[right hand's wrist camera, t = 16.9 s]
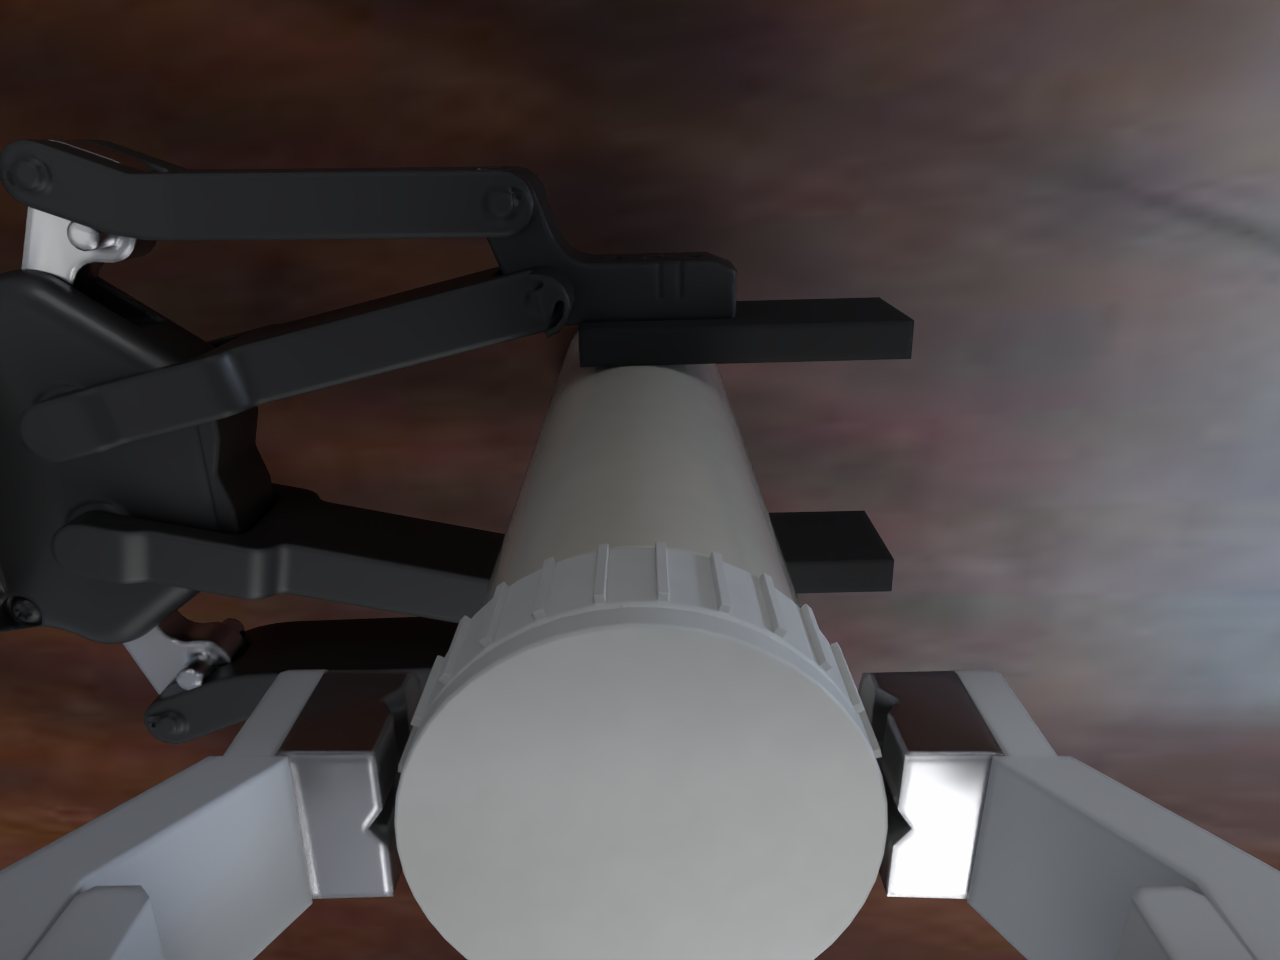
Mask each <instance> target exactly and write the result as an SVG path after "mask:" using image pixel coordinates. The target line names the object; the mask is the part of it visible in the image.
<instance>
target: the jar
mask: <svg viewBox="0 0 1280 960" xmlns="http://www.w3.org/2000/svg"><path fill="white" fill-rule="evenodd" d="M656 542H665V543H666V549H670V550H678V551H685V552H691V553H695V554H698V555H702V556H706V557H710V555H711V553H712V551H713V552H717V553H720V554H722V559H723V562H725V563H728V564H730V565H733V566H735V567H738V568H740V569H743V570H745V571H747V572H749V573H751V574H753V575H754V576H756V577H758V578H759V577H760V576H761V575H762V574H763V573H765V574H767V575H769V576H770V577H771V578H772V581H773V584H774V587H775V588H776V589H777V590H779V591H780V592H781V593H783V594H784V595H785V596H787V597H788V598H789V599H791V600H792V601H793V602H794V603H795V604H796V605H797V606H798V607H799V608H801V606H800V603H799V600H798V597H797V594H796V591H795V588H794V585H793V583H792V580H791V577H790V574H789V571H788V568H787V565H786V562H785V559H784V556H783V554H782V551H781V548H780V545H779V542H778V539H777V536H776V533H775V530H774V528H773V525H772V522H771V519H770V516H769V513H768V510H767V507H766V504H765V502H764V499H763V496H762V493H761V490H760V487H759V484H758V481H757V478H756V475H755V473H754V470H753V467H752V464H751V461H750V458H749V455H748V452H747V449H746V447H745V444H744V441H743V438H742V435H741V432H740V429H739V426H738V423H737V420H736V418H735V415H734V412H733V409H732V406H731V403H730V400H729V397H728V394H727V392H726V389H725V386H724V383H723V380H722V377H721V374H720V371H719V368H718V365H717V364H685V365H646V366H607V367H580V359H579V340H578V332H577V333H576V335H575V336H574V338H573V339H572V341H571V343H570V345H569V347H568V350H567V353H566V356H565V359H564V362H563V365H562V368H561V371H560V374H559V376H558V379H557V382H556V385H555V388H554V391H553V394H552V397H551V400H550V403H549V406H548V409H547V412H546V415H545V418H544V421H543V424H542V427H541V430H540V433H539V436H538V439H537V442H536V445H535V447H534V450H533V453H532V456H531V459H530V462H529V465H528V468H527V471H526V474H525V477H524V480H523V483H522V486H521V489H520V492H519V495H518V498H517V501H516V504H515V507H514V510H513V513H512V515H511V518H510V521H509V524H508V527H507V530H506V533H505V536H504V539H503V542H502V545H501V548H500V551H499V554H498V557H497V560H496V563H495V566H494V569H493V572H492V575H491V578H490V581H489V584H488V586H487V589H486V592H485V595H484V598H483V601H482V604H481V607H480V609H481V608H483V607H484V606H485V605H486V604H487V603H488V602H489V601H490V600H491V599H493V597H494V593H495V590H496V587H497V586H498V585H499V584H501V583H502V582H505V583H506V584H507V585H508V586H511V585H512V584H514V583H515V582H516V581H518V580H520V579H522V578H524V577H526V576H528V575H530V574H532V573H534V572H536V571H538V570H540V569H542V567H543V563H544V560H546V559H548V558H551V557H553V558H554V560H555V562H556V563H557V562H560V561H563V560H566V559H568V558H571V557H575V556H579V555H584V554H588V553H593V552H597V551H598V545H600V544H607V543H608V544H609V550H612V549H622V548H655V543H656Z"/></svg>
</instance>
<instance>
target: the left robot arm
mask: <svg viewBox="0 0 1280 960" xmlns="http://www.w3.org/2000/svg"><path fill="white" fill-rule="evenodd" d="M0 179H1V181H2V183H3V185H4V187H5V189H6V190H7V191H8V192H9V194H10V195H11V196H12V197H13V198H14V199H15V200H17V201H18V202H20V203H22V204H24V205H26V206H28V212H27V222H26V232H25V242H24V251H23V261H22V270H13V271H9V272H6V273H4V274H1V275H0V632H5V631H11V630H17V629H23V628H30V627H38V626H47V627H53V628H58V629H62V630H66V631H69V632H72V633H75V634H77V635H79V636H82V637H84V638H86V639H89V640H91V641H95V642H99V643H105V644H121V643H123V645H124V646H125V647H126V649H127V650H128V652H129V653H130V654H131V656H132V657H133V659H134V660H135V661H136V663H137V664H138V666H139V667H140V668H141V670H142V671H143V673H144V674H145V676H146V677H147V678H148V680H149V681H150V683H151V684H152V685H153V687H154V688H155V690H156V691H157V692H158V694H159V696H158V697H157V698H156V699H155V700H154V702H153V703H152V704H151V705H150V706H149V707H148V709H147V711H146V713H145V725H146V727H147V729H148V731H149V732H150V733H151V734H152V735H153V736H154V737H155V738H157V739H159V740H161V741H163V742H165V743H171V744H179V743H185V742H187V741H190V740H193V739H196V738H198V737H201V736H204V735H206V734H209V733H212V732H215V731H217V730H220V729H223V728H225V727H228V726H231V725H233V724H236V723H239V722H242V721H244V720H248V718H249V717H250V715H251V714H252V712H253V711H254V709H255V708H256V707H257V705H258V704H259V702H260V701H261V699H262V698H263V696H264V695H265V693H266V692H267V690H268V689H269V688H270V686H271V685H272V683H273V682H274V680H275V679H276V677H277V676H278V675H279V674H280V673H281V672H284V671H287V670H323V669H326V670H328V671H330V670H360V671H409V672H415V673H416V674H417V676H418V677H419V679H420V686H421V693H423V690H424V688H425V685H426V682H427V680H428V677H429V675H430V672H431V670H432V667H433V664H434V662H435V660H436V658H437V656H438V655H439V656H442V657H444V658H445V656H446V654H447V652H448V651H449V649H450V646H451V643H452V640H453V638H454V635H455V632H456V630H457V627H458V624H459V622H460V620H461V619H462V618H463V617H464V616H465V615H466V616H467V617H469V618H470V619H472V617H473V616H474V615H475V614H476V613H477V612H478V611H479V610H480V607H481V604H482V601H483V598H484V595H485V592H486V589H487V586H488V584H489V581H490V578H491V575H492V572H493V569H494V566H495V563H496V560H497V557H498V554H499V551H500V548H501V545H502V542H503V539H504V536H505V534H501V533H495V532H489V531H484V530H478V529H473V528H467V527H462V526H456V525H451V524H445V523H440V522H434V521H429V520H423V519H418V518H412V517H407V516H401V515H396V514H390V513H385V512H379V511H373V510H368V509H362V508H357V507H351V506H346V505H340V504H335V503H329V502H325V501H323V500H321V499H320V498H319V496H318V495H317V494H316V493H314V492H313V491H310V490H306V489H302V488H296V487H291V486H285V485H280V484H274V483H271V478H270V474H269V472H268V470H267V468H266V466H265V464H264V462H263V460H262V458H261V455H260V453H259V451H258V449H257V447H256V444H255V439H256V428H257V417H258V408H257V406H258V405H260V404H264V403H267V402H271V401H275V400H279V399H283V398H287V397H291V396H295V395H299V394H303V393H307V392H310V391H314V390H318V389H322V388H326V387H330V386H334V385H338V384H342V383H346V382H349V381H353V380H357V379H361V378H365V377H369V376H373V375H377V374H381V373H385V372H389V371H392V370H396V369H400V368H404V367H408V366H412V365H416V364H420V363H424V362H428V361H431V360H435V359H439V358H443V357H447V356H451V355H455V354H459V353H463V352H467V351H471V350H474V349H478V348H482V347H486V346H490V345H494V344H498V343H502V342H506V341H510V340H514V339H517V338H521V337H525V336H529V335H533V334H537V333H541V332H545V331H546V336H547V338H548V337H550V336H552V335H554V334H556V333H558V332H559V331H560V330H561V329H562V328H563V326H564V325H579V328H578V340H579V359H580V367H607V366H646V365H685V364H724V363H763V362H802V361H841V360H880V359H911V352H912V340H913V328H914V320H913V319H911V318H909V317H908V316H906V315H905V314H903V313H902V312H900V311H899V310H897V309H896V308H894V307H893V306H891V305H890V304H888V303H887V302H885V301H884V300H882V299H881V298H879V297H878V298H840V299H802V300H764V301H736V269H735V267H734V266H733V265H732V263H731V262H730V261H728V260H726V259H723V258H721V257H718V256H715V255H713V254H710V253H707V252H687V253H660V254H658V253H650V254H612V255H592V254H585V253H583V252H580V251H578V250H576V249H575V248H573V247H572V246H570V245H569V244H568V243H567V242H566V240H565V239H564V238H563V236H562V235H561V233H560V231H559V229H558V226H557V224H556V221H555V219H554V217H553V214H552V212H551V209H550V207H549V205H548V202H547V200H546V194H545V190H544V186H543V184H542V182H541V181H540V179H539V178H538V176H537V175H536V174H534V173H533V172H531V171H530V170H528V169H526V168H521V167H424V168H330V169H236V170H188V169H185V168H182V167H179V166H176V165H173V164H171V163H168V162H165V161H162V160H159V159H156V158H154V157H151V156H148V155H145V154H142V153H139V152H136V151H134V150H131V149H128V148H125V147H122V146H119V145H116V144H114V143H111V142H107V141H101V140H19V141H16V142H13V143H10V144H9V145H8V146H7V147H6V148H5V149H4V150H3V151H2V152H1V155H0ZM396 238H487V239H488V242H489V244H490V246H491V248H492V251H493V253H494V255H495V257H496V260H497V262H498V264H499V266H500V267H496V268H492V269H488V270H485V271H481V272H477V273H473V274H469V275H466V276H462V277H458V278H454V279H450V280H447V281H443V282H439V283H435V284H432V285H428V286H424V287H420V288H416V289H413V290H409V291H405V292H401V293H397V294H394V295H390V296H386V297H382V298H379V299H375V300H371V301H367V302H363V303H360V304H356V305H352V306H348V307H344V308H341V309H337V310H333V311H329V312H326V313H322V314H318V315H314V316H310V317H307V318H303V319H299V320H295V321H291V322H288V323H284V324H273V325H269V326H265V327H261V328H257V329H253V330H250V331H246V332H242V333H238V334H234V335H231V336H227V337H223V338H219V339H216V340H212V341H208V342H205V341H204V340H202V339H201V338H199V337H197V336H196V335H194V334H192V333H191V332H189V331H187V330H186V329H184V328H182V327H181V326H179V325H177V324H176V323H174V322H172V321H171V320H169V319H167V318H166V317H164V316H162V315H161V314H159V313H158V312H156V311H154V310H153V309H151V308H149V307H148V306H146V305H144V304H143V303H141V302H139V301H138V300H136V299H134V298H133V297H131V296H129V295H128V294H126V293H124V292H123V291H121V290H119V289H118V288H116V287H115V286H113V285H111V284H110V283H108V282H106V281H105V280H103V279H101V278H100V277H98V273H99V270H100V268H101V266H102V265H103V264H104V262H108V263H114V262H118V261H122V260H127V259H131V258H135V257H139V256H144V255H145V254H147V253H149V252H150V251H151V250H152V249H153V247H154V246H155V244H156V241H157V240H160V241H201V240H298V239H396ZM769 516H770V519H771V522H772V525H773V528H774V530H775V533H776V536H777V539H778V542H779V545H780V548H781V551H782V554H783V556H784V559H785V562H786V565H787V568H788V571H789V574H790V577H791V580H792V583H793V585H794V588H795V591H796V593H828V592H873V591H891V590H892V578H893V566H894V559H893V557H892V556H891V554H890V552H889V551H888V549H887V547H886V546H885V544H884V542H883V541H882V539H881V537H880V536H879V534H878V532H877V531H876V529H875V528H874V526H873V524H872V523H871V521H870V519H869V518H868V516H867V514H866V513H865V511H831V512H788V513H769ZM201 591H202V592H208V593H214V594H219V595H225V596H231V597H237V598H243V599H263V598H266V597H269V596H272V595H275V594H281V593H285V594H293V595H298V596H304V597H310V598H316V599H322V600H327V601H333V602H339V603H345V604H350V605H356V606H362V607H368V608H373V609H379V610H385V611H391V612H397V613H402V614H408V615H414V616H420V617H403V618H376V619H349V620H321V621H295V622H284V623H275V624H270V625H265V626H260V627H257V628H254V629H251V630H247V631H244V627H243V625H242V623H241V622H240V621H238V620H236V619H231V618H228V619H226V620H224V621H223V622H222V623H221V622H211V623H197V622H193V621H191V620H188V619H187V618H185V617H184V616H182V615H181V614H180V613H179V612H178V611H177V610H178V609H179V608H180V607H181V606H183V605H184V604H185V603H187V602H188V601H189V600H190V599H192V598H193V597H194V596H195V595H197V594H198V593H199V592H201Z"/></svg>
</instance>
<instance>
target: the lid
mask: <svg viewBox="0 0 1280 960" xmlns="http://www.w3.org/2000/svg"><path fill="white" fill-rule="evenodd" d="M411 725H413V728H412V731H411V733H410V736H409V738H408V741H407V744H406V746H405V749H404V751H403V754H402V757H401V759H400V762H399V765H398V772H400V773H401V775H400V780H399V784H398V788H397V793H396V800H395V816H394V825H395V835H396V844H397V850H398V854H399V858H400V861H401V865H402V869H403V872H404V875H405V877H406V880H407V882H408V884H409V886H410V889H411V891H412V893H413V895H414V898H415V899H416V901H417V902H418V904H419V905H420V907H421V909H422V910H423V912H424V913H425V915H426V916H427V918H428V920H429V921H430V922H431V923H432V924H433V925H434V927H435V928H436V929H437V930H438V931H439V933H440V934H441V935H442V936H443V937H444V938H445V940H447V941H448V942H449V943H450V944H451V945H452V946H453V947H454V948H455V949H456V950H457V951H459V952H460V953H461V954H462V955H463V956H464V957H465V958H467V959H468V960H814V959H815V958H816V957H817V956H818V955H820V954H821V953H822V952H823V951H824V950H825V949H827V948H828V947H829V946H830V945H831V944H832V943H833V942H834V941H835V940H836V939H837V938H838V937H839V936H840V935H841V933H842V932H843V931H844V930H845V929H846V928H847V927H848V926H849V925H850V923H851V922H852V920H853V919H854V917H855V916H856V915H857V913H858V912H859V910H860V909H861V907H862V906H863V904H864V903H865V901H866V899H867V897H868V895H869V893H870V891H871V889H872V887H873V885H874V883H875V881H876V878H877V875H878V872H879V868H880V865H881V862H882V859H883V856H884V850H885V843H886V837H887V830H888V811H887V798H886V792H885V787H884V782H883V776H882V774H881V771H880V768H879V765H878V763H877V760H876V758H879V757H882V753H881V749H880V746H879V744H878V741H877V739H876V736H875V734H874V731H873V729H872V726H871V724H870V721H869V719H868V716H867V714H866V711H865V708H864V706H863V703H862V701H861V698H860V696H859V693H858V691H857V688H856V686H855V683H854V681H853V678H852V676H851V673H850V671H849V668H848V666H847V663H846V661H845V658H844V656H843V653H842V650H841V648H840V646H839V645H838V643H837V642H835V643H833V644H831V645H830V644H829V642H828V640H827V639H826V638H825V636H824V635H823V634H822V632H821V631H820V630H819V628H818V625H817V622H816V619H815V617H814V614H813V611H812V609H811V608H810V607H809V606H808V605H807V604H804V605H803V606H802V607H801V608H799V607H798V606H797V605H796V604H795V603H794V602H793V601H792V600H791V599H789V598H788V597H787V596H785V595H784V594H783V593H781V592H780V591H779V590H777V589H776V588H775V587H774V584H773V581H772V578H771V577H770V576H769V575H767V574H765V573H763V574H762V575H761V576H760V577H759V578H758V577H756V576H754V575H753V574H751V573H749V572H747V571H745V570H743V569H740V568H738V567H735V566H733V565H730V564H728V563H725V562H723V559H722V554H720V553H717V552H713V551H712V553H711V555H710V557H706V556H702V555H698V554H695V553H691V552H685V551H678V550H670V549H666V543H665V542H656V543H655V548H622V549H612V550H609V544H608V543H607V544H600V545H598V551H597V552H593V553H588V554H584V555H579V556H575V557H571V558H568V559H566V560H563V561H560V562H557V563H556V562H555V560H554V558H553V557H551V558H548V559H546V560H544V563H543V567H542V569H540V570H538V571H536V572H534V573H532V574H530V575H528V576H526V577H524V578H522V579H520V580H518V581H516V582H515V583H514V584H512V585H511V586H508V585H507V584H506V583H505V582H502V583H501V584H499V585H498V586H497V587H496V590H495V593H494V597H493V599H491V600H490V601H489V602H488V603H487V604H486V605H485V606H484V607H483V608H481V609H480V610H479V611H478V612H477V613H476V614H475V615H474V616H473V617H472V619H470V618H469V617H467V616H466V615H465V616H464V617H463V618H462V619H461V620H460V622H459V624H458V627H457V630H456V632H455V635H454V638H453V640H452V643H451V646H450V649H449V651H448V652H447V654H446V656H445V658H444V657H442V656H439V655H438V656H437V658H436V660H435V662H434V664H433V667H432V670H431V672H430V675H429V677H428V680H427V682H426V685H425V688H424V690H423V693H422V695H421V698H420V700H419V703H418V705H417V708H416V711H415V713H414V716H413V718H412V721H411Z"/></svg>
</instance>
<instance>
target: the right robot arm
mask: <svg viewBox="0 0 1280 960" xmlns="http://www.w3.org/2000/svg"><path fill="white" fill-rule="evenodd" d="M858 693H859V696H860V698H861V701H862V703H863V706H864V708H865V711H866V714H867V716H868V719H869V721H870V724H871V726H872V729H873V731H874V734H875V736H876V739H877V741H878V744H879V746H880V749H881V753H882V757H879V758H876V760H877V763H878V765H879V768H880V771H881V774H882V776H883V782H884V787H885V792H886V798H887V811H888V830H887V837H886V843H885V850H884V856H883V859H882V862H881V865H880V868H879V873H880V876H881V879H882V882H883V885H884V888H885V891H886V894H887V896H890V897H926V898H962V899H968V901H967V903H969V904H970V905H971V906H972V907H973V908H974V909H975V910H976V911H977V912H978V913H979V914H980V915H981V916H982V917H983V918H984V919H985V920H986V921H987V922H989V923H990V924H991V925H992V926H993V927H994V928H995V929H996V930H997V931H998V932H999V933H1000V934H1001V935H1002V936H1003V937H1004V938H1005V939H1006V940H1008V941H1009V942H1010V943H1011V944H1012V945H1013V946H1014V947H1015V948H1016V949H1017V950H1018V951H1019V952H1020V953H1021V954H1022V955H1023V956H1024V957H1025V958H1026V959H1028V960H1280V871H1278V870H1277V869H1275V868H1273V867H1271V866H1269V865H1268V864H1266V863H1264V862H1262V861H1260V860H1259V859H1257V858H1255V857H1253V856H1251V855H1249V854H1248V853H1246V852H1244V851H1242V850H1240V849H1239V848H1237V847H1235V846H1233V845H1231V844H1229V843H1228V842H1226V841H1224V840H1222V839H1220V838H1219V837H1217V836H1215V835H1213V834H1211V833H1210V832H1208V831H1206V830H1204V829H1202V828H1200V827H1199V826H1197V825H1195V824H1193V823H1191V822H1190V821H1188V820H1186V819H1184V818H1182V817H1180V816H1179V815H1177V814H1175V813H1173V812H1171V811H1170V810H1168V809H1166V808H1164V807H1162V806H1161V805H1159V804H1157V803H1155V802H1153V801H1151V800H1150V799H1148V798H1146V797H1144V796H1142V795H1141V794H1139V793H1137V792H1135V791H1133V790H1132V789H1130V788H1128V787H1126V786H1124V785H1122V784H1121V783H1119V782H1117V781H1115V780H1113V779H1112V778H1110V777H1108V776H1106V775H1104V774H1102V773H1101V772H1099V771H1097V770H1095V769H1093V768H1092V767H1090V766H1088V765H1086V764H1084V763H1083V762H1081V761H1079V760H1077V759H1075V758H1073V757H1072V756H1057V755H1056V753H1055V752H1054V750H1053V749H1052V747H1051V746H1050V744H1049V743H1048V742H1047V740H1046V739H1045V737H1044V736H1043V734H1042V733H1041V731H1040V730H1039V729H1038V727H1037V726H1036V724H1035V723H1034V721H1033V720H1032V718H1031V717H1030V716H1029V714H1028V713H1027V711H1026V710H1025V708H1024V707H1023V705H1022V704H1021V703H1020V701H1019V700H1018V698H1017V697H1016V695H1015V694H1014V692H1013V691H1012V690H1011V688H1010V687H1009V685H1008V684H1007V682H1006V681H1005V680H1004V678H1003V677H1002V675H1001V674H1000V673H999V672H997V671H995V670H993V669H980V670H952V671H929V672H886V673H863V675H862V678H861V681H860V684H859V692H858ZM421 695H422V693H421V686H420V679H419V677H418V676H417V674H416V673H415V672H409V671H360V670H330V671H328V670H326V669H323V670H287V671H284V672H281V673H280V674H279V675H278V676H277V677H276V679H275V680H274V682H273V683H272V685H271V686H270V688H269V689H268V690H267V692H266V693H265V695H264V696H263V698H262V699H261V701H260V702H259V704H258V705H257V707H256V708H255V709H254V711H253V712H252V714H251V715H250V717H249V718H248V720H247V721H246V723H245V724H244V725H243V727H242V728H241V730H240V731H239V733H238V734H237V736H236V737H235V739H234V740H233V742H232V743H231V744H230V746H229V747H228V749H227V750H226V752H225V753H224V755H223V756H208V757H207V758H205V759H203V760H201V761H199V762H198V763H196V764H194V765H192V766H190V767H188V768H187V769H185V770H183V771H181V772H179V773H178V774H176V775H174V776H172V777H170V778H168V779H167V780H165V781H163V782H161V783H159V784H158V785H156V786H154V787H152V788H150V789H148V790H147V791H145V792H143V793H141V794H139V795H137V796H136V797H134V798H132V799H130V800H128V801H127V802H125V803H123V804H121V805H119V806H117V807H116V808H114V809H112V810H110V811H108V812H107V813H105V814H103V815H101V816H99V817H97V818H96V819H94V820H92V821H90V822H88V823H87V824H85V825H83V826H81V827H79V828H77V829H76V830H74V831H72V832H70V833H68V834H67V835H65V836H63V837H61V838H59V839H57V840H56V841H54V842H52V843H50V844H48V845H46V846H45V847H43V848H41V849H39V850H37V851H36V852H34V853H32V854H30V855H28V856H26V857H25V858H23V859H21V860H19V861H17V862H16V863H14V864H12V865H10V866H8V867H6V868H5V869H3V870H1V871H0V960H253V959H254V958H255V957H256V956H257V955H258V954H259V953H260V952H261V951H262V950H263V949H265V948H266V947H267V946H268V945H269V944H270V943H271V942H272V941H273V940H274V939H275V938H276V937H277V936H278V935H279V934H280V933H281V932H283V931H284V930H285V929H286V928H287V927H288V926H289V925H290V924H291V923H292V922H293V921H294V920H295V919H296V918H297V917H298V916H299V915H300V914H302V913H303V912H304V911H305V910H306V909H307V908H308V907H309V906H310V905H311V904H312V899H318V898H353V897H387V896H393V895H394V892H395V889H396V886H397V883H398V880H399V877H400V874H401V871H402V865H401V861H400V858H399V854H398V850H397V844H396V835H395V825H394V816H395V800H396V793H397V788H398V784H399V780H400V775H401V773H400V772H398V765H399V762H400V759H401V757H402V754H403V751H404V749H405V746H406V744H407V741H408V738H409V736H410V733H411V731H412V728H413V725H411V721H412V718H413V716H414V713H415V711H416V708H417V705H418V703H419V700H420V698H421Z"/></svg>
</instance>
